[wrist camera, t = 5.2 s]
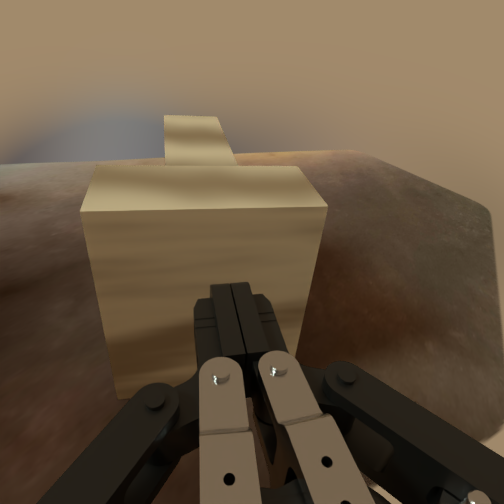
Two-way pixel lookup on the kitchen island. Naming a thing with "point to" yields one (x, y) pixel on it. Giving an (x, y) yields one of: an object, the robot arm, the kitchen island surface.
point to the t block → (194, 247)
